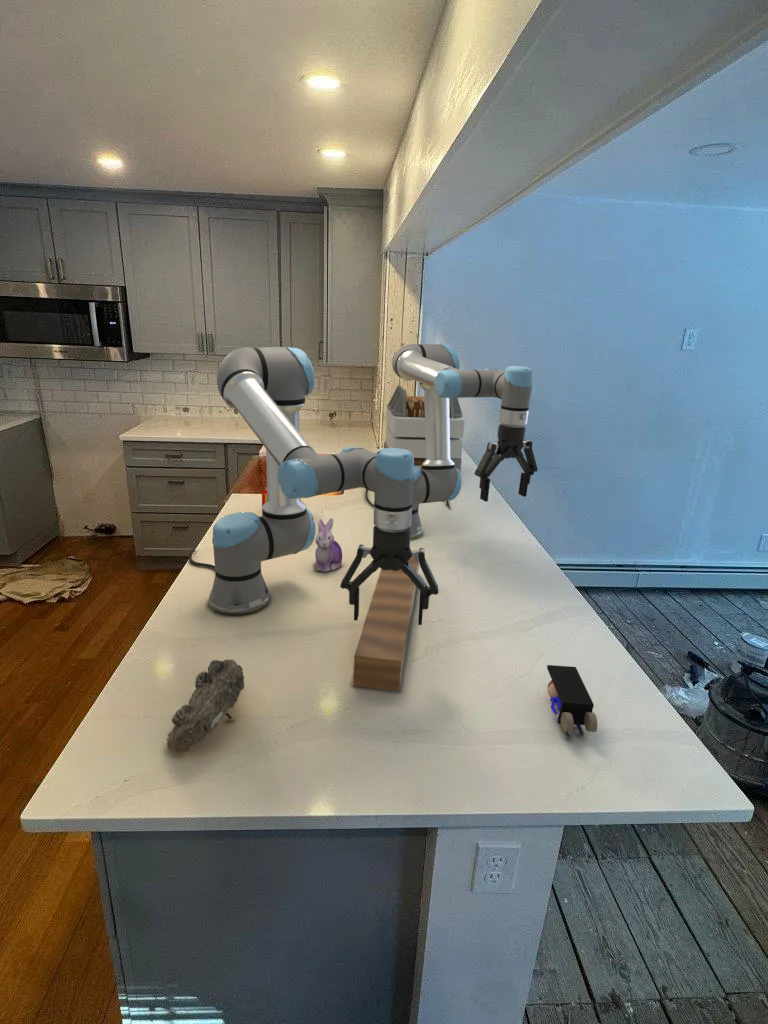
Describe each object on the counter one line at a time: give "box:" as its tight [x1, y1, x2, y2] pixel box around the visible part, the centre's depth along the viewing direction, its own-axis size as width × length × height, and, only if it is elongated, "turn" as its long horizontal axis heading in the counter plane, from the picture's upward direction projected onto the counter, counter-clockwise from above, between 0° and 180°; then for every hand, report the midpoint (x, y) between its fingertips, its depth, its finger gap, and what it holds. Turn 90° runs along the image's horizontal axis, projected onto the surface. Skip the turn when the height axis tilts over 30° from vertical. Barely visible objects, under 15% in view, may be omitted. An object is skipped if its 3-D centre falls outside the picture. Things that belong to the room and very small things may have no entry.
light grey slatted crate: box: [383, 384, 465, 475], centre depth 268 cm, size 34×33×41 cm
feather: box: [445, 501, 450, 509], centre depth 239 cm, size 2×28×2 cm
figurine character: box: [546, 664, 598, 737], centre depth 111 cm, size 7×8×15 cm
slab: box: [353, 557, 420, 692], centre depth 143 cm, size 55×10×7 cm, turn 173°
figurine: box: [314, 517, 343, 572], centre depth 170 cm, size 9×10×15 cm
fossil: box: [166, 658, 245, 754], centre depth 106 cm, size 22×10×15 cm
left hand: (388, 619), depth 121 cm, fingers open, 13 cm apart
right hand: (503, 497), depth 163 cm, fingers open, 13 cm apart
